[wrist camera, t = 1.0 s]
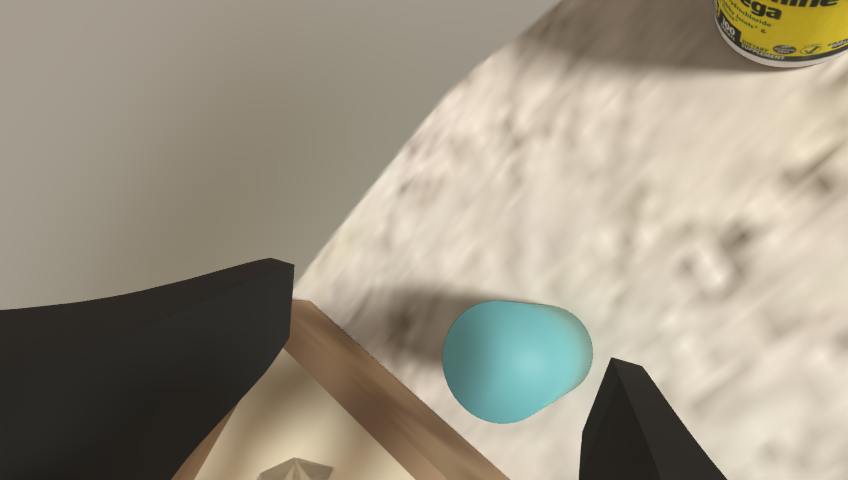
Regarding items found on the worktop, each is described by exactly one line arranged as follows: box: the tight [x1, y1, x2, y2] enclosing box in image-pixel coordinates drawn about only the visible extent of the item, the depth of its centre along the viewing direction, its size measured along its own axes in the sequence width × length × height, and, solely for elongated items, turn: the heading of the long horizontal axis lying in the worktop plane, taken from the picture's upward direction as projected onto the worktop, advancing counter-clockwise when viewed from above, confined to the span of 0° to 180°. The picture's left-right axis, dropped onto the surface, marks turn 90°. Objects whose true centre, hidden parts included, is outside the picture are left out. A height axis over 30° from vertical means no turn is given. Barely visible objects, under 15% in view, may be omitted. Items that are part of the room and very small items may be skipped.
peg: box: [443, 301, 593, 424], centre depth 20 cm, size 4×4×7 cm
